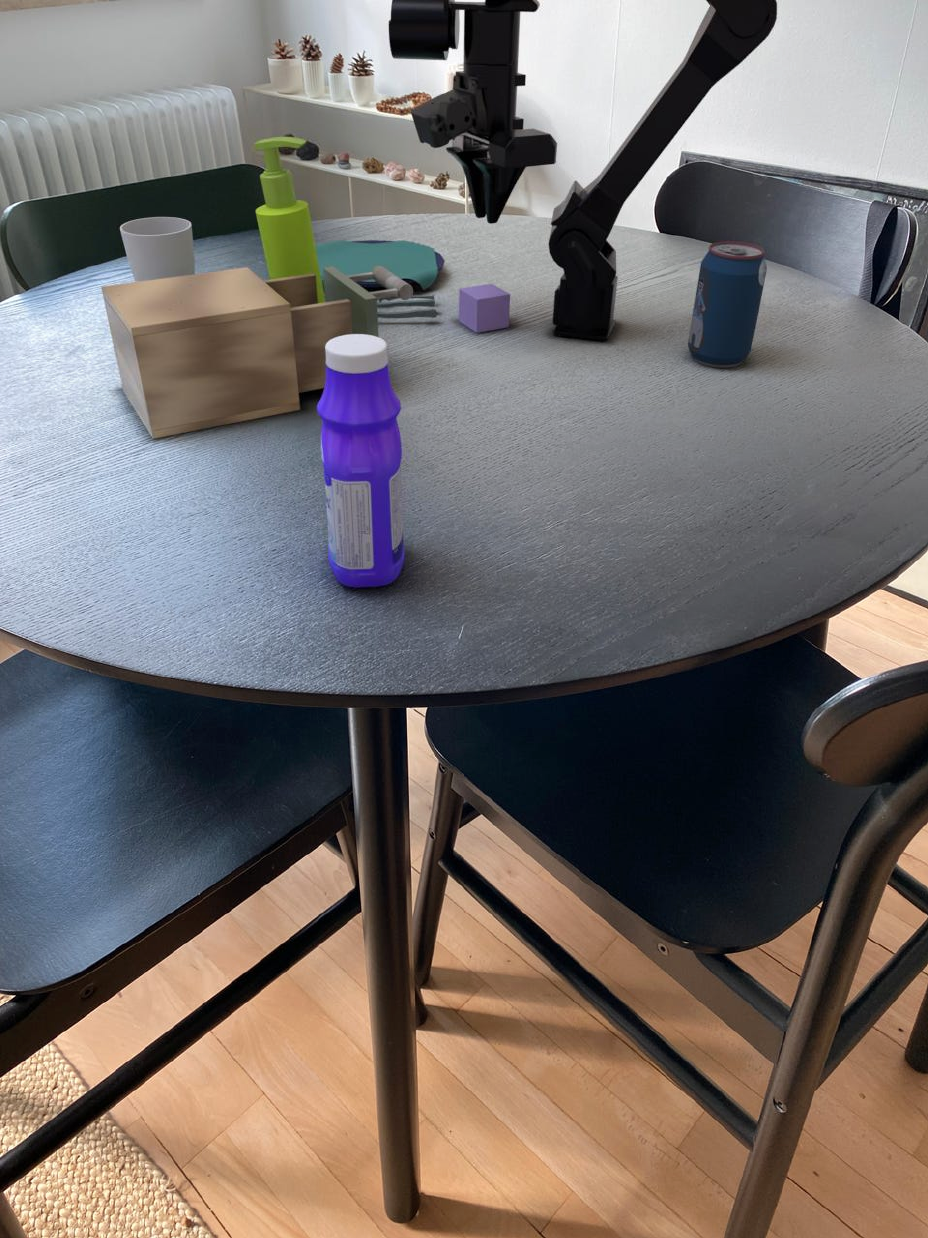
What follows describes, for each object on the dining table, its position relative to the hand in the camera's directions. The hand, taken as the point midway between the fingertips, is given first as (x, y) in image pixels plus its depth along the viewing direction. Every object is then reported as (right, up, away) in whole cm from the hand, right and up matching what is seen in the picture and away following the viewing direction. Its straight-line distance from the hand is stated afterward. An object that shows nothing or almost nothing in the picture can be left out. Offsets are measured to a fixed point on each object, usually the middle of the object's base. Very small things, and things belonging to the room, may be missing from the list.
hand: (486, 220), depth 108 cm
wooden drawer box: (-28, -23, -12) cm, 38 cm away
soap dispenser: (-21, -10, +6) cm, 24 cm away
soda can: (+26, -16, 0) cm, 31 cm away
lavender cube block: (0, -10, +7) cm, 12 cm away
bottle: (-10, -42, -36) cm, 56 cm away
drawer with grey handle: (-18, -19, -7) cm, 27 cm away
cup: (-39, -7, +10) cm, 41 cm away
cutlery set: (-15, -1, +18) cm, 24 cm away
